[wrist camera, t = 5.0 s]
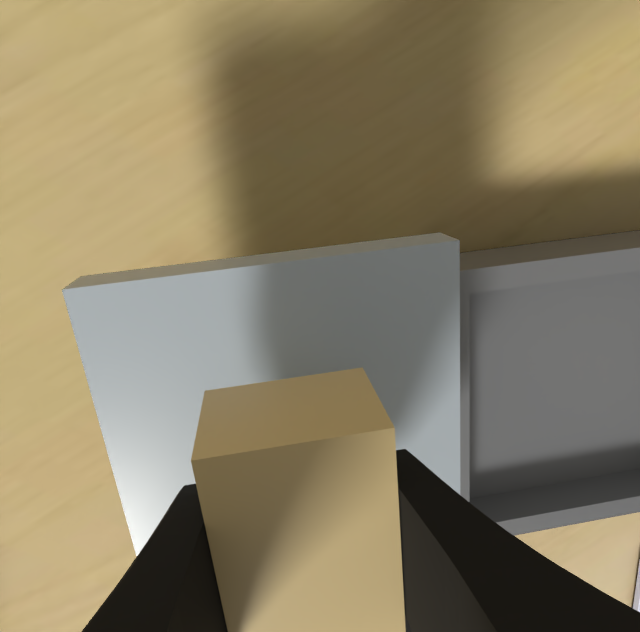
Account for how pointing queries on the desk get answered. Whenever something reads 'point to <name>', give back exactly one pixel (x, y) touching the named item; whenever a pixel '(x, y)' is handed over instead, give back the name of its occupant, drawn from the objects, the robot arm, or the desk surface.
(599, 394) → the base
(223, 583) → the cover
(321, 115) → the desk surface
